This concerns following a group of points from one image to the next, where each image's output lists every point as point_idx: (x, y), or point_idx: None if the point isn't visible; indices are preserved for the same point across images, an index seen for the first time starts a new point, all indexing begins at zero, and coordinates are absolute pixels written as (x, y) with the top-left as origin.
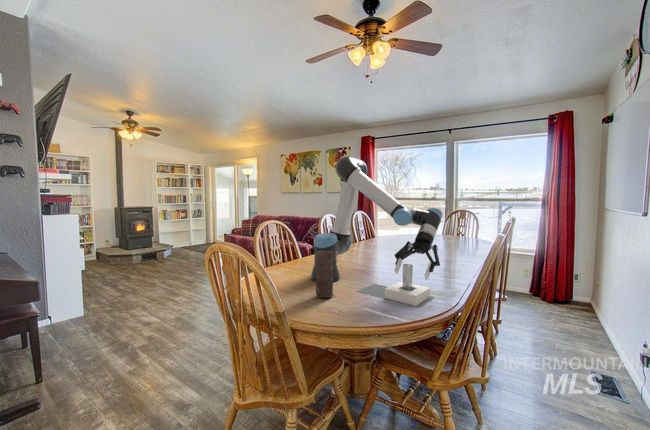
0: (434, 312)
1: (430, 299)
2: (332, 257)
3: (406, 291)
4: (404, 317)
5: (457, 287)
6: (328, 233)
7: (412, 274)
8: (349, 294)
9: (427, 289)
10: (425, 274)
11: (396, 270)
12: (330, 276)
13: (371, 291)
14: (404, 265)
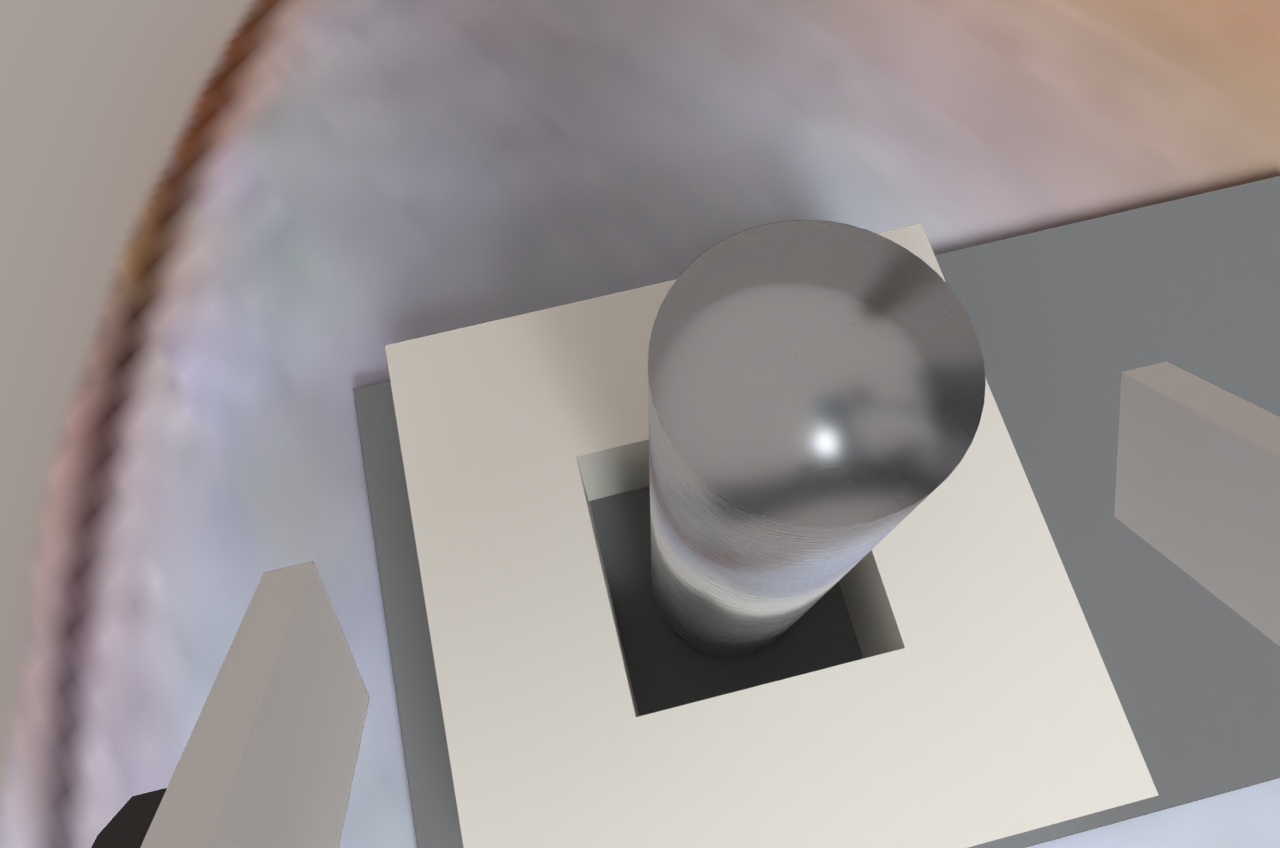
0: (178, 453)
1: (437, 816)
2: None
3: (622, 387)
4: (347, 92)
5: None
6: None
7: (668, 528)
8: (1253, 79)
9: (459, 816)
10: (279, 592)
11: (1136, 421)
12: None
13: (1212, 337)
14: (827, 236)
